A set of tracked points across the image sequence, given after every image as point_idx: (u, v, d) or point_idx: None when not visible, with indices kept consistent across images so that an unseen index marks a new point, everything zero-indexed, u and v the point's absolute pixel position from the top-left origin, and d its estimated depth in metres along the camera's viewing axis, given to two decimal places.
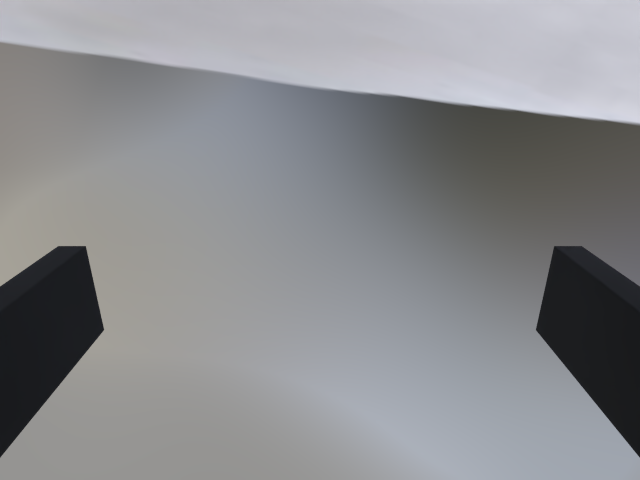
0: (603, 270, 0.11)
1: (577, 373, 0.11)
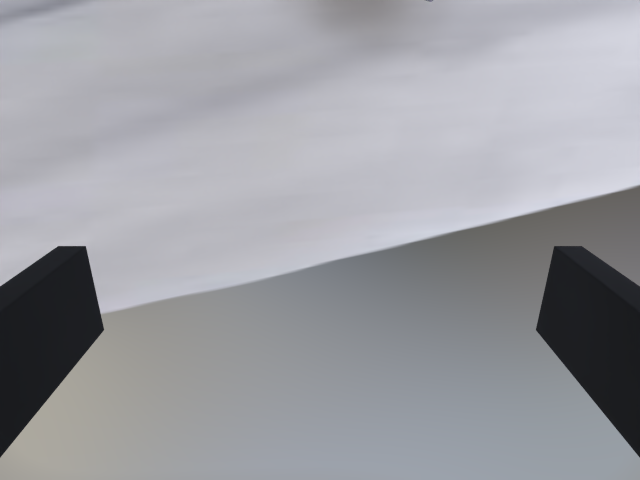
0: (603, 270, 0.11)
1: (577, 373, 0.11)
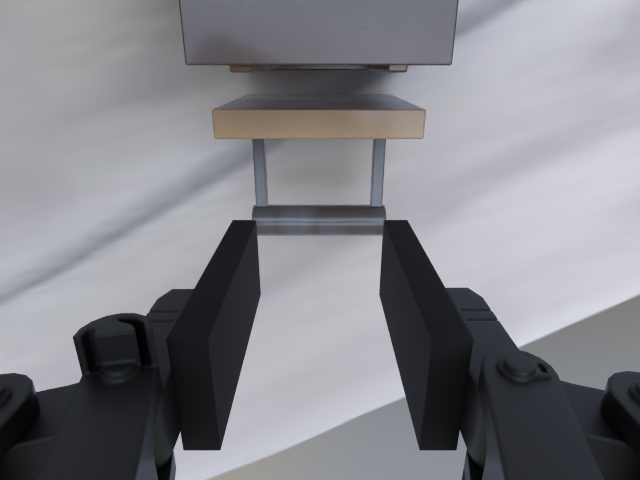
0: (406, 237, 0.13)
1: (389, 325, 0.13)
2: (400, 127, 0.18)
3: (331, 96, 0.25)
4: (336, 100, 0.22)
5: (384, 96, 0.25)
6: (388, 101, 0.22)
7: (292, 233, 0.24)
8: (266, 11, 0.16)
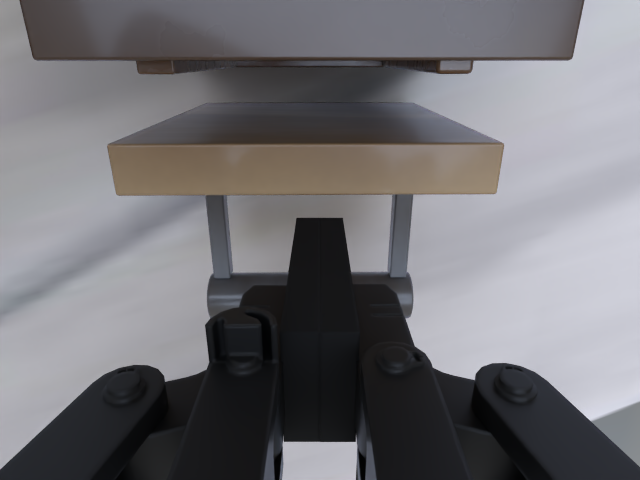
0: (334, 234, 0.13)
1: None
2: (456, 175, 0.10)
3: (328, 107, 0.17)
4: (336, 116, 0.14)
5: (407, 107, 0.17)
6: (421, 119, 0.13)
7: None
8: None
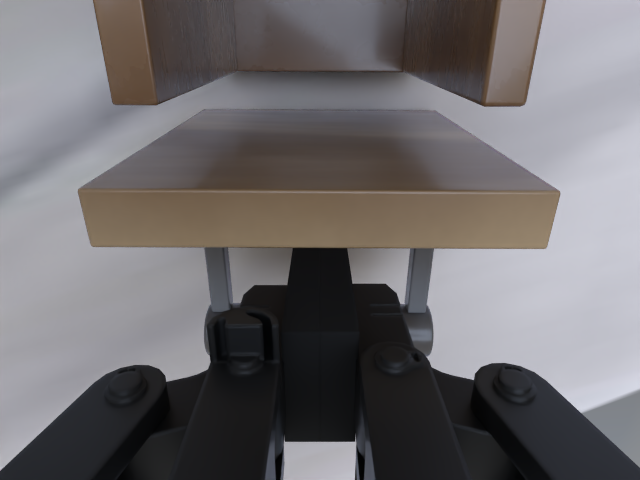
0: None
1: None
2: (499, 227, 0.08)
3: (340, 117, 0.15)
4: (351, 136, 0.12)
5: (429, 118, 0.15)
6: (449, 141, 0.12)
7: None
8: None
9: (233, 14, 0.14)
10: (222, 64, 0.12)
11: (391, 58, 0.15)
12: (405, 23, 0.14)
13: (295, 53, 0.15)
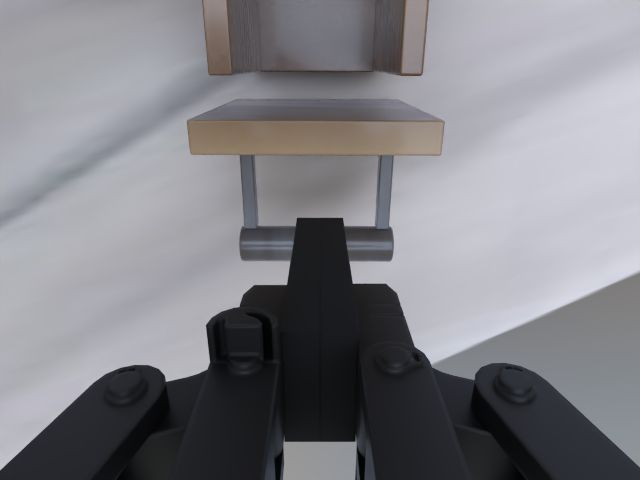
0: (334, 234, 0.13)
1: None
2: (413, 142, 0.15)
3: (331, 102, 0.22)
4: (336, 107, 0.19)
5: (391, 102, 0.22)
6: (397, 109, 0.19)
7: (286, 259, 0.21)
8: None
9: (260, 33, 0.21)
10: (255, 63, 0.20)
11: (365, 62, 0.22)
12: (373, 39, 0.21)
13: (300, 59, 0.22)
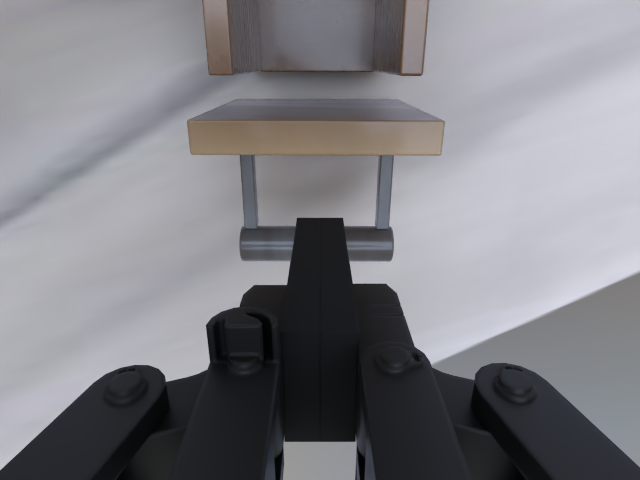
0: (334, 234, 0.13)
1: None
2: (414, 142, 0.15)
3: (331, 102, 0.22)
4: (337, 107, 0.19)
5: (391, 102, 0.22)
6: (397, 109, 0.19)
7: (286, 259, 0.21)
8: None
9: (260, 33, 0.21)
10: (255, 63, 0.20)
11: (365, 62, 0.22)
12: (373, 39, 0.21)
13: (300, 59, 0.22)
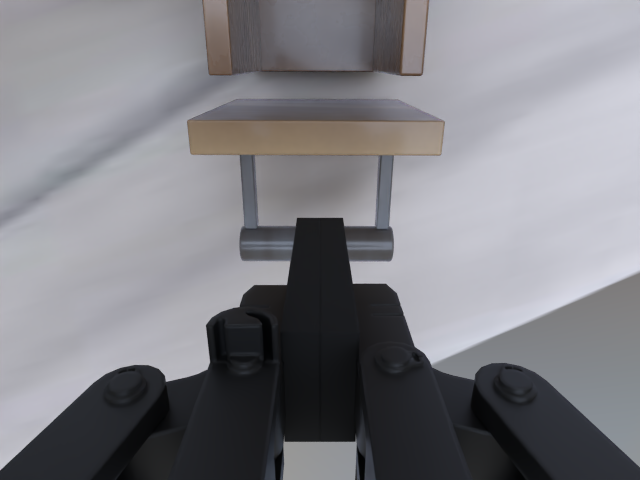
0: (334, 234, 0.13)
1: None
2: (414, 142, 0.15)
3: (331, 102, 0.22)
4: (337, 107, 0.19)
5: (391, 102, 0.22)
6: (397, 109, 0.19)
7: (286, 259, 0.21)
8: None
9: (260, 33, 0.21)
10: (255, 63, 0.20)
11: (365, 62, 0.22)
12: (373, 39, 0.21)
13: (300, 59, 0.22)
